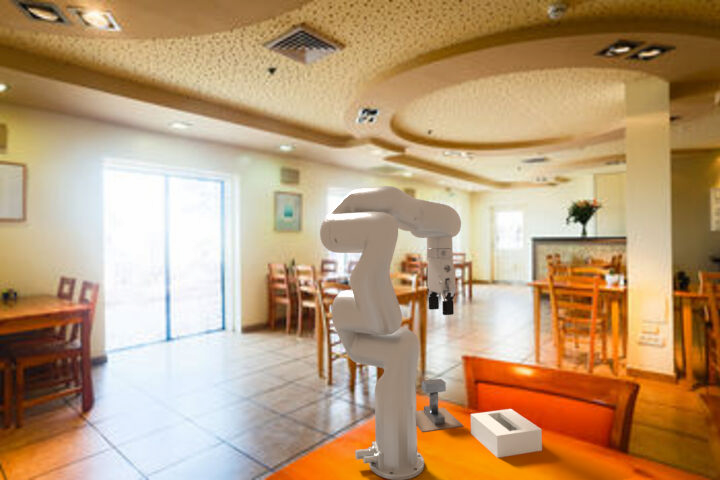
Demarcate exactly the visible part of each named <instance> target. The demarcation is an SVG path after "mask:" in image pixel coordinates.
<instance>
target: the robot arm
mask: <svg viewBox="0 0 720 480" xmlns="http://www.w3.org/2000/svg"><path fill="white" fill-rule="evenodd" d="M461 228H462V220H461V217H460V215H459V212H458V211H457V210H455V209H454V208H453V207H451V206H450V205H447V204H444V203H440V202H434V201H429V200H425V199H418V198H415V197H413V196H411V195H410V194H408V193H407V192H405V191H403V190H402V189H400V188H398V187H396V186H391V185H381V186H372V187H360V188H356V189H354V190H352V191H351V192H349V193H348V194H347V195H345V196H344V197H343V198H342V199H341V200H340V201H339V202H338V203H337V204H336V206H334V207H333V208H332V209H331V211H329V213H328V214H327V215H325V218H324V219H323V221H322V223H321V225H320V230H319V237H320V241H321V243H322V245H323V247H324V249H326V250H327V251H330V252H332V253H339V254H343V253H344V254H353V253H354V254H361V255H360V257H359V260H358V261H357V263H355V266H354V267H353V270H351V271H352V272H351V274H350V277H349V286H350V289H346V290H343V291H341V292H339V293H338V294H337V295H336V296H335V297H334V299H333V302H332V304H331V320H332V323H333V326H334V328H335V331H336V334H337V336H338V338H339V340H340V343H341V344H342V346H343V349H344V350H345V351H344V352H346V354H347V356H348V357H349V359H350V360H351V361H352V362H354V363H356V364H361V365H365V366H370V367H377V368H380V369H382V370H383V373H382V375H381V376H380V377H379V379H378V380H377V381H376V383H375V386H374V423H375V424H374V426H375V429H374V431H375V432H374V434H375V441H371V446H369V447H368V448H364V449H355V452H354V454H355V455H354V456H355V459H356V460H363V464H368V465H369V469H371V471H372V472H373V474H376V475H377V476H378V477H382V478H384V479H387V480H410V479H412V478H415V477H417V476H418V475H420V474H421V473H422V472H423V470H424V468H425V460H424V457H423V456H422V454H421V453H420V452H418V437H417V436H418V433H417V431H418V430H417V428H418V426H417V420H416V411H417V371H418V364H419V363H418V362H419V356H420V352H421V351H420V349H421V346H420V345H421V343H420V338H419V337H418V336H417V334H416V333H415V332H413V331H412V330H410V329H409V328H405V327H401V326H402V323H403V315H402V310H401V306H400V303H399V300H398V297H397V294H396V291H395V289H394V285H393V283H392V279H391V275H390V274H391V272H390V271H391V265H392V261H393V256H394V253H395V249H396V246H397V242H398V238H399V237H398V236H399V230H402V231H404V232H410V233H411V235H412V236H414V237H416V238H419V239H426V259H427V260H428V264H427V281H426V286H427V296H428V309H429V310H431V311H432V310H439V309H440V296H439V294H441V297H442V299H443V300H442V302H441V303H442V304H441V305H442V308H441V309H442V315H443V316H451V315H452V316H454V313H455V312H454V301H455V296H456V289H457V286H456V274H455V266H454V261H453V258H454V257H453V252H454V251H453V238H454V237H456V236H458V234H459V233H460V231H461Z"/></svg>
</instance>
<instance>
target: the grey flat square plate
mask: <svg viewBox="0 0 720 480" xmlns="http://www.w3.org/2000/svg"><path fill="white" fill-rule="evenodd" d="M438 411H439V412H440V413H441V414H442V415H443V416H444V417H445V425H437V426H435V425H434V424H433V423H432V422H431V420H430V419H429V418H428V417H427V416H426V415H425V414H424V409H422V410H416V420H417V428H418V429H419V430H420V432H421V433H424V432H425V433H427V432H432V431H441V430H447V429H455V428H462V427H464V424H463V423H462V422H460V421H459V420H458V419H457V418H456V417H455V416H454V415H453V414H452V413H450V412H449V411H448V410H447V409H446V408H445V407H438Z"/></svg>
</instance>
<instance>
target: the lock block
mask: <svg viewBox="0 0 720 480" xmlns="http://www.w3.org/2000/svg"><path fill="white" fill-rule="evenodd" d="M542 433H543V432H542V428H540V427H539V426H537V425H536V424H534V423H533V422H531V421H530V420H528V419H527V418H525V417H524V416H522V415H521V414H519V413H518V412H517V411H515V410H514V409H512V408H508V409H507V408H505V409H499V410H492V411H491V410H490V411H484V412H477V413H476V412H475V413H470V434H471V435H472V436H473V437H474V438H476V440H478V442H480V443H481V444H482V445H483V446H484V447H485V448H486V449H487V450H488V451H490V453H491V454H493V455H494V456H495V457H496V458H505V457H509V456H516V455H522V454H528V453H534V452H541V451H543V444H542V443H543V441H542V440H543V439H542V438H543V435H542Z"/></svg>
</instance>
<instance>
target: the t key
mask: <svg viewBox="0 0 720 480" xmlns="http://www.w3.org/2000/svg"><path fill="white" fill-rule="evenodd" d="M421 390H422V392H424V393H425V394H429V398H428V400H429V405H425V406H423V410H424V414H425V415H426V416H427V417H428V418H429V419H430V420H431V422H432V423H433V424H434V425H435V426H437V425H445V417H444V416H443V415H442V414H441V413H440V412H439V411H438V408H439V393H441V392H446V391H447V389H446V381H445V380H443V379H442V378H438V379H437V378H436V379H425V380H421Z"/></svg>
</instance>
